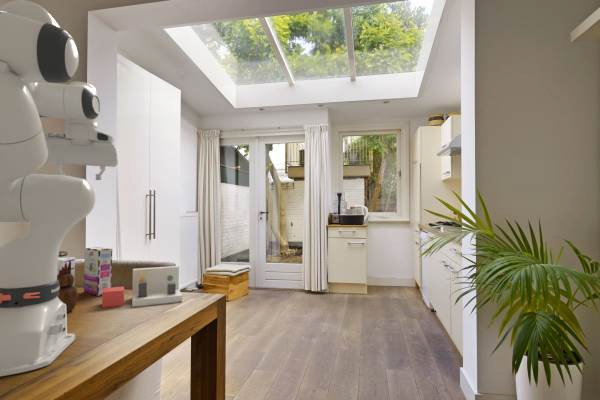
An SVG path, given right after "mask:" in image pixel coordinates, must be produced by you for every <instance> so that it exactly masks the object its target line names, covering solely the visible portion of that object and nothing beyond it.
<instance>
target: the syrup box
mask: <svg viewBox="0 0 600 400" xmlns="http://www.w3.org/2000/svg"><path fill="white" fill-rule="evenodd" d="M69 261H71V274H72V275H73V276H74V283H73V285H72V286H75V283H76V282H75V281H76V280H75V279H76V278H75V277H76V276H75V275H76V269H75V268H76V257H75V256H63V257H58V267H57V276H58V274H59V270H62V267H65V263H67V268H68V265H69Z"/></svg>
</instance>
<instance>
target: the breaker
mask: <svg viewBox="0 0 600 400" xmlns="http://www.w3.org/2000/svg"><path fill="white" fill-rule="evenodd" d="M140 297H147V282H139V293H138V298H140Z"/></svg>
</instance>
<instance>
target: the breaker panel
mask: <svg viewBox="0 0 600 400" xmlns="http://www.w3.org/2000/svg"><path fill="white" fill-rule="evenodd" d="M179 279H180V266H179V265H173V266H159V267H158V266H157V267H156V266H155V267H142V268H141V267H140V268H132V293H131V294H132V300H131V307H132V308H134V307H142V306H143V307H144V306H154V305H164V304H171V303H180V302H179V301H182V302H183V295H182V292H181V291H180V289H179V288H180V287H179V286H180V285H179V284H180V283H179V281H180V280H179ZM139 282H147V297H140V298H138V293H139Z"/></svg>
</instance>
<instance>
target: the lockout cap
mask: <svg viewBox="0 0 600 400" xmlns="http://www.w3.org/2000/svg"><path fill="white" fill-rule="evenodd" d="M101 296H102V297H101V308H110V307H111V308H112V307H123V306H124V305H125V286H115V287H113V286H111V288H104V289H103V292H102V295H101Z"/></svg>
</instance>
